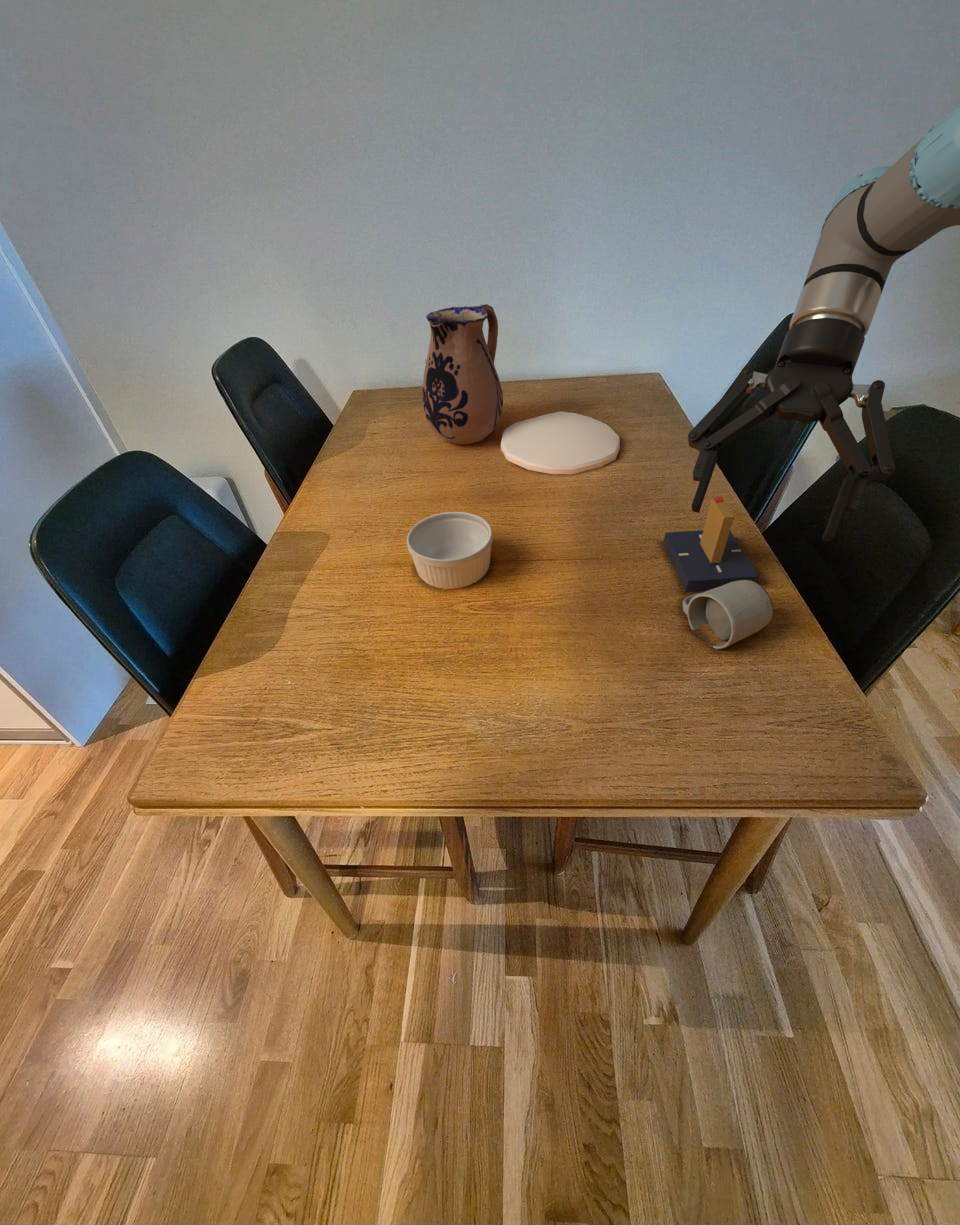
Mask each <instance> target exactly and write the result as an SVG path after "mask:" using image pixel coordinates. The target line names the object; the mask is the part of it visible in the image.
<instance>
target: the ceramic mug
mask: <svg viewBox="0 0 960 1225" xmlns="http://www.w3.org/2000/svg"><path fill="white" fill-rule="evenodd" d="M682 610H683V613H684V614H685V615H686V617H687V621H688V624H689V627H690V629H691V630H692V631H696V630H697V629H698V628H700V627H702V626H704V625H706V624H708V625H709V627H710V629H711V631H712V632H713V633H714V634H715V636H716V638H717V639H718V640H720V641H722V642H720V643H717V644H715V645H712V648H713V649H715V650H723V649H726V648H728V647H730V646H732V645H733V644H735V643H738V642H740V641H742V640H743V639H746V638H747V637H749V636H751V635H753V634H756V633H758V632H759V631H761V630H763V629H764V628H765V627H766V626H767V625H768V624H769V623H770V622H771V620H772V619H773V616H774V604H773V600H772V598H771V596H770V594H769V592H768V591H767V589H765V587H763V586H762V585H761V584H759V583H758V582H757V583H756V582H754V581H751V580H739V581H734V582H730V583H727V584H725V585H723V586H720V587H717V588H714V589H711V590H708V591H701V592H699V593H698V592H697V593H694V594H691V595H688V596H686V597H685V598H683V600H682Z"/></svg>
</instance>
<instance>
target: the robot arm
mask: <svg viewBox="0 0 960 1225" xmlns="http://www.w3.org/2000/svg"><path fill="white" fill-rule="evenodd" d="M955 226H957V227H958V226H960V105H959V106H958V107H956V108H955V109H954V110H952V112H951V113H949V114H948V115H945V116H943V117H942V118H941V119H940V120H939V121H938V122H937V123H936V124H934V125H932V127H930V129H928V131H927V132H926V133H925V134H924V136H922V138H920V139H919V140H918V141H917V142H916V143H915V144H914V145H913V146H911V147H910V148H909V149H908V151H906V152H905V153H904V154H903V155H902V156H900V158H899V159H898V160H897V161H896V162H894V164H892V165H884V166H883V165H882V166H877V167H872V168H870V169H868V170H867V171H866V172H865V173H863V174H862V173H861V174H856V175H854V176H853V177H851V178H850V179H849V180H847V181H846V182H845V183H844V184H843V186H842V187H841V188H840V189H839V191H838V192H837V194H836V196H835V198H834V200H833V202H832V204H831V207H830V209H829V211H828V212H827V214H826V216H825V218H824V223H822V226H821V230H820V235H819V238H818V241H817V244H816V247H815V250H814V252H813V256H812V260H811V262H810V265H809V268H808V271H807V274H806V277H805V281H804V283H803V286H802V289H801V290H800V293H799V296H798V299H797V302H796V304H795V308H794V310H793V314H792V316H791V319H790V322H789V325H788V326H789V328H788V329H789V330H788V331H787V332H786V334H785V337H784V339H783V342H782V345H781V347H780V351H779V354H778V356H777V360H776V363H775V365H774V366H773V369H771V371H770V372H769V373H763V372H759V371H755V370H754V367H753V366H752V365H745V366H744V367H742V369H741V371H740V373H739V375H738V377H737V379H736V382H735V384H733V386H732V387H731V388H730V389H729V390H728V391H726V393H725V394H724V396H722V398H720V399H719V401H717V403H716V404H714V406H713V407H712V408H711V409H710V410H709V411H708V412H707V413H706V414H705V415H704V417H702V418H701V419H700V420H699V421H698V423H696V425H695V426H694V427H693V428H692V429H691V430H690V431H689V432H688V434H687V442H688V447H690V448H692V449H695V450H696V451H698V455H697V458H696V461H695V464H694V466H693V470H692V480H693V482H694V481H695V482H699V483H698V485H697V489H696V491H695V494H694V498H693V500H692V503H691V511H692V512H693V513H698V514H699V513H700V511H701V508H702V505H703V502H704V500H705V496H706V494H707V491H708V489H709V486H710V482H711V480H712V476H713V474H714V471H715V468H716V466H717V462H718V460H719V459H718V455H719V454H718V451H719V450H721V449H722V448H724V447H725V446H727V445H728V444H730V443H731V442H732V441H734V440H735V439H737V438H739V437H740V436H742V435H743V434H745V433H746V432H748V431H750V430H751V429H752V428H753V427H755V426H757V425H758V424H760V423H762V422H765V421H766V420H768V419H769V418H771V417H772V416H774V415H775V416H776V417H777V418H779V420H781V421H798V422H799V423H802V424H808V425H811V423H814V422H817V421H818V422H819V424H820V426H821V427H822V430H823V431H824V432H826V434H827V436H828V438H829V439H830V441H831V443H832V445H833V446H834V448H835V451H836V452H837V454H838V456H839V458H840V459H841V461H842V463H843V465H844V467H845V468H846V470H847V472H848V474H847V475H846V477H845V478H844V479H843V481H842V483H841V486H840V488H839V492H838V494H837V496H836V499H835V502H834V505H833V508H832V510H831V513H830V515H829V519H828V521H827V524H826V527H825V529H824V532H823V535H822V538H821V541H822V542H823V541H824V542H828V543H830V542H831V541H832V540H833V539H835V536H836V533H837V531H838V529H839V526H840V523H841V520H842V517H843V515H844V513H845V512H847V513H853V512H854V511H855V510H856V509H857V508H858V507H859V506H860V504H861V501H862V498H863V495H864V493H865V490H866V487H867V485H868V483H870V482H874V481H877V482H884V481H886V480H888V478H889V477H890V476H891V475H892V474H893V473H894V472H895V470H896V464H895V460H894V455H893V450H892V446H891V441H890V436H889V431H888V426H887V422H886V416H885V412H884V408H883V404H882V401H883V396H884V392H885V388H886V383H885V381H883V380H881V379H877V380H874V381H873V382H871V384H855V383H854V382H853V375H854V371H855V368H856V366H857V363H858V360H859V357H860V354H861V352H862V349H863V348H864V347H863V346H864V344H865V340H866V335H867V334H868V331H869V330H870V327H871V324H872V322H873V318H874V316H875V313H876V310H877V307H878V305H879V302H880V300H881V296H882V294H883V290H884V288H885V285H886V282H887V279H888V277H889V274H890V272H891V269H892V268H893V267H892V266H893V265H894V264H895V263H896V261H897V260H899V259H900V258H902V257H903V256H905V255H906V254H908V253H910V252H912V251H913V250H914V249H916V248H918V247H920V246H921V245H922V244H924V243H926V241H928V240H930V239H931V238H933V237H934V236H935V235H937V234H938V233H940V232H941V231H944V230H946V229H948V228H951V227H955ZM761 387H763V390H764V393H765V396H764V397H763V398H761V399H760V400H758V402H757V403H756V404H755V405H754V406H752V407H751V408H749V409H748V410H746V411H745V412H743V413H742V414H741V415H738V416H737V417H736V418H734V419H733V420H731V421H730V422H728V423H727V424H726V425H724V426H723V427H721V428H720V429H718V430H716V431H715V432H714V433H713V434H711V433H712V432H713V431H714V430H715V429H716V428H717V427H718V426H719V425H720V424H721V423H722V422H723V421H724V420H725V419H726V418H727V417H728V416H729V415H730V413H732V411H733V410H734V409H735V408H736V407H737V406H739V404H740V403H741V402H742V401H743V399H744V398H745V397H746V395H747V394H752V393H754V392H755V391H756V390H757V389H758V388H761ZM850 398H851V399H853V400H854V402H855V406H856V408H859V409H861V421H862V426H863V430H864V435H865V440H866V444H867V449H868V453H869V459H870V463H869V460H868V458H867V457H866V456H865V454H864V452H863V450H862V448H861V447H860V444H859V442H858V441H857V439H856V437H855V435H854V433H853V431H852V430H851V427H850V426H849V425H848V422H847V421H846V419H845V417H844V412H843V410H842V408H841V406H840V405H841V404H843V403H845V402H846V401H847V400H848V399H850ZM710 434H711V435H710ZM709 435H710V436H709Z"/></svg>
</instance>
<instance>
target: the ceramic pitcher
mask: <svg viewBox="0 0 960 1225" xmlns="http://www.w3.org/2000/svg"><path fill="white" fill-rule="evenodd" d="M425 318H426V320H427V322H428V323H429V327H430V340H429V344H428V348H427V354H426V358H425V366H424V371H423V372H424V373H423V379H422V380H423V383H422V407H423V413H424V416H425V419H426V421H427V423H428V425H429V426H430V428H431V429H432V430H433V432H434V433H435V434H436V435H437V436H439V437H440V438H441V439H442V440H444V441H446V442H448V443H451V444H454V445H471V444H476V443H479V442H481V441H483V440H484V439H486V438H487V437H488V436H489V435H490V434H492V432H494V430H495V429H496V427H497V425H498V423H499V421H500V418H501V415H502V413H503V411H502V410H503V407H504V394H503V393H504V392H503V388H502V385H501V381H500V378H499V375H498V372H497V369H496V366H495V360H496V353H497V346H498V336H499V322H498V317H497V315H496V312H495V309H494V307H493V306H492V305H490V304H488V303H486V304H479V305H476V306H467V305H466V306H452V307H446V308H442V309H438V310H434V311H430V312H429V313H428V314H427V315H426V316H425ZM485 321H487V324H488V329H487V330H488V331H487V341H486V338H485V335H484V328H483V327H484V322H485Z"/></svg>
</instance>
